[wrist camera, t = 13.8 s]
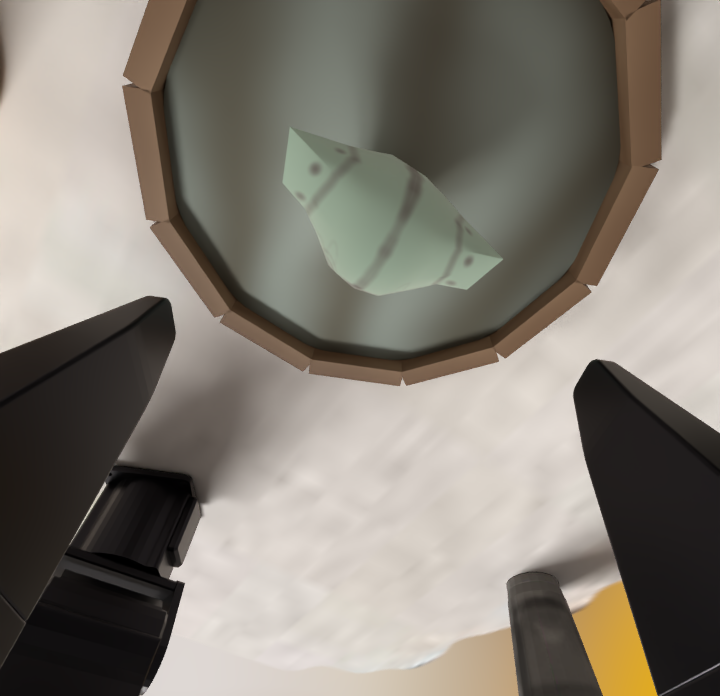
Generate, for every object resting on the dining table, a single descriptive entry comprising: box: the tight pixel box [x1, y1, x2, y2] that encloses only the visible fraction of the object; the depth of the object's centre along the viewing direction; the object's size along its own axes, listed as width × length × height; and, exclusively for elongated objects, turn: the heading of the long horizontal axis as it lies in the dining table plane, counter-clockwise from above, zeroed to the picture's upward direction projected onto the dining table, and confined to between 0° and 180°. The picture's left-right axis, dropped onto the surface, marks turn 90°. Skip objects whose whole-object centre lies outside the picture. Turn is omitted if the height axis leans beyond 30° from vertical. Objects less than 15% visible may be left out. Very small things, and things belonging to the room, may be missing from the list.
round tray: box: [122, 0, 661, 386], centre depth 18 cm, size 20×20×2 cm
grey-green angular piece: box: [282, 127, 503, 296], centre depth 15 cm, size 8×4×7 cm, turn 60°
